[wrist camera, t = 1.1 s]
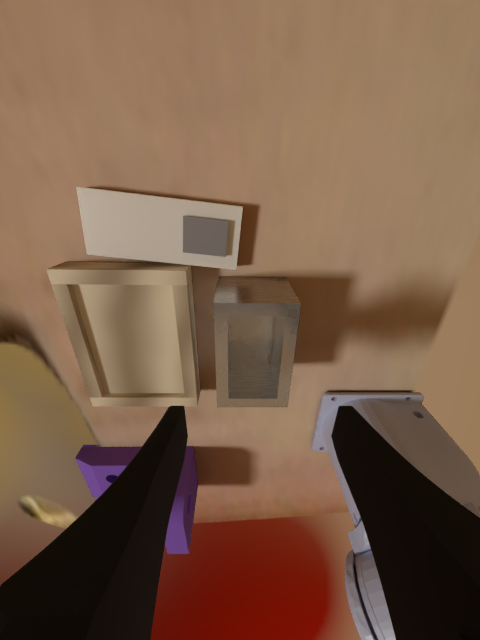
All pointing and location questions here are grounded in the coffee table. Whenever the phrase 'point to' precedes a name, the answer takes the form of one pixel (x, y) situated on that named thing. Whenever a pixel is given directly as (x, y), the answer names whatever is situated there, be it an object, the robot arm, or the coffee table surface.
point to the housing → (254, 340)
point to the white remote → (160, 228)
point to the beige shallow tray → (131, 330)
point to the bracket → (111, 461)
